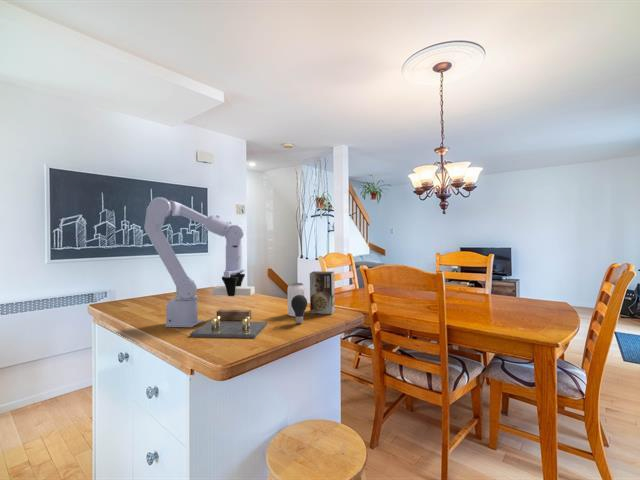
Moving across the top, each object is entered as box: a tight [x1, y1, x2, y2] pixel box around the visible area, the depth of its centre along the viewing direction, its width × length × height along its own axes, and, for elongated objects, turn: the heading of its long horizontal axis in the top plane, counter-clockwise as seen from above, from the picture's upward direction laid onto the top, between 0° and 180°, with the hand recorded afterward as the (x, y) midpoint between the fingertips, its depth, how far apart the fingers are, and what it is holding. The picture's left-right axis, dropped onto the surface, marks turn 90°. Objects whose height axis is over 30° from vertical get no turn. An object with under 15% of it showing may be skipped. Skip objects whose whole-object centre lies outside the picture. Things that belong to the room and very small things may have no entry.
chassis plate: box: [189, 315, 268, 339], centre depth 98 cm, size 20×14×4 cm
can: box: [287, 282, 305, 318], centre depth 118 cm, size 6×6×12 cm
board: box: [212, 285, 256, 297], centre depth 112 cm, size 14×5×2 cm, turn 86°
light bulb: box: [291, 295, 308, 325], centre depth 105 cm, size 6×6×10 cm
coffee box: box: [309, 270, 336, 315], centre depth 122 cm, size 9×6×16 cm
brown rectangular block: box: [216, 309, 252, 321], centre depth 112 cm, size 12×3×3 cm, turn 86°
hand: (233, 294), depth 112 cm, fingers closed on board, 5 cm apart
